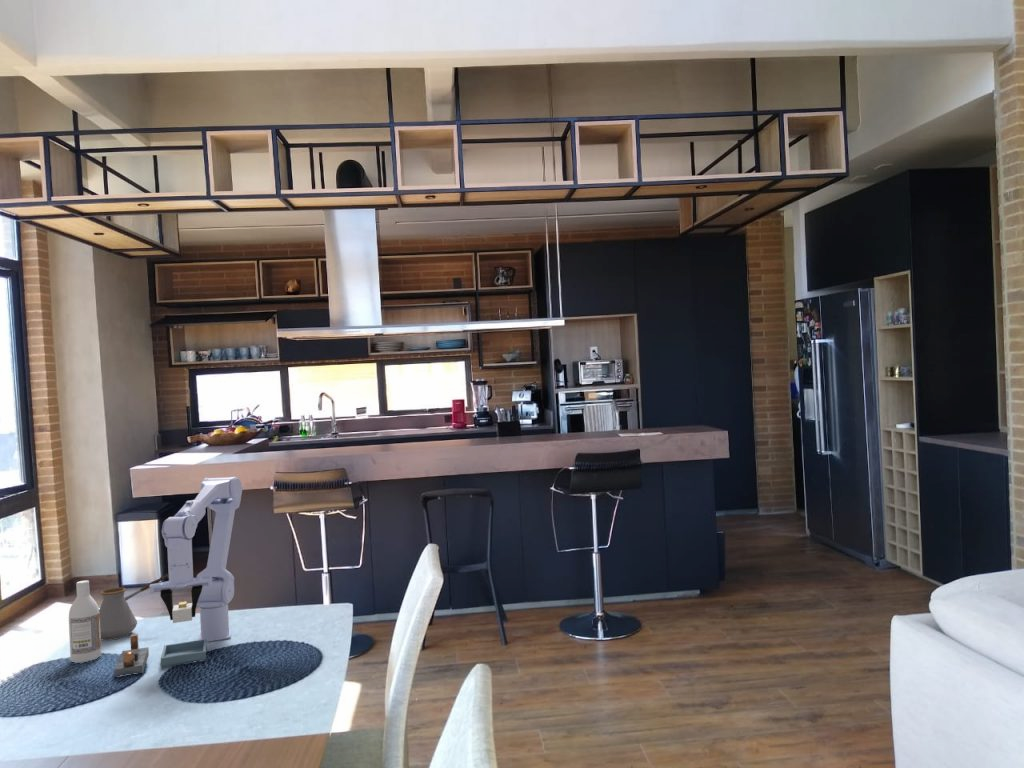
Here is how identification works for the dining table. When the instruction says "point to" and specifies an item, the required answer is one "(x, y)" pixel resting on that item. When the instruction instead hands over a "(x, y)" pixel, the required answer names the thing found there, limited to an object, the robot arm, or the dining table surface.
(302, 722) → the dining table surface
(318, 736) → the dining table surface
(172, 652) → the tray
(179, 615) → the white yellow block
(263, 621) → the dining table surface
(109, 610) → the coffee pot
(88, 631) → the bath foam
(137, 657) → the hand plane
